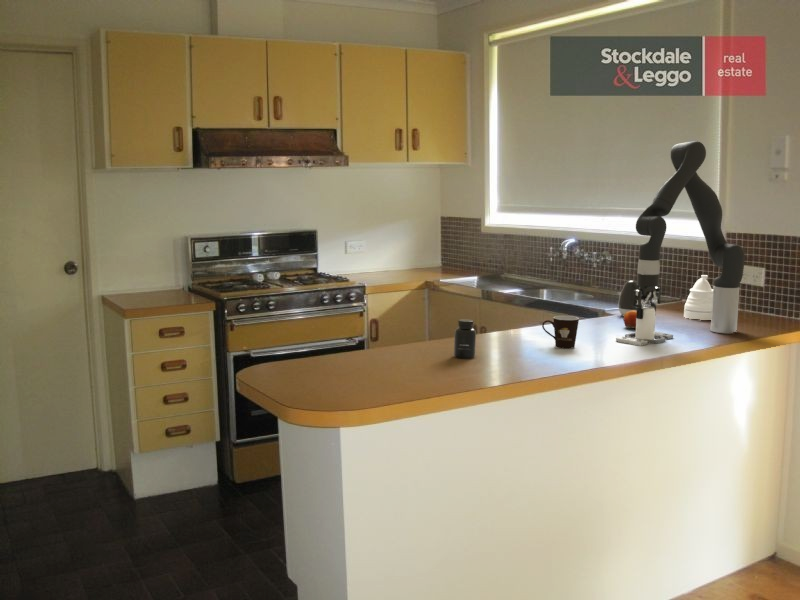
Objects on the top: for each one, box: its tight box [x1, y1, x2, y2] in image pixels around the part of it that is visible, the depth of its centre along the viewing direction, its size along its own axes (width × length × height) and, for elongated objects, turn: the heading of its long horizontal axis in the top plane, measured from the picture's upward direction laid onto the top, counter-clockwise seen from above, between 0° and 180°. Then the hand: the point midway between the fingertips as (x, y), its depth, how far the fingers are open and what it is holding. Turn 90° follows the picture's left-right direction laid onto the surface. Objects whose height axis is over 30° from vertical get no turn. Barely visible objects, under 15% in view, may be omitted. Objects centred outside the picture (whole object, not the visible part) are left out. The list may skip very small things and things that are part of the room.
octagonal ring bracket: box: [615, 331, 674, 347], centre depth 302 cm, size 22×13×1 cm, turn 133°
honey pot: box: [683, 274, 713, 321], centre depth 348 cm, size 13×13×18 cm
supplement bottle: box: [453, 318, 477, 360], centre depth 271 cm, size 7×7×12 cm
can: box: [634, 305, 657, 340], centre depth 301 cm, size 6×6×12 cm
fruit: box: [623, 311, 637, 329], centre depth 324 cm, size 8×8×8 cm
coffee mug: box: [541, 315, 580, 350], centre depth 289 cm, size 12×9×10 cm
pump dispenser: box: [617, 279, 642, 317], centre depth 350 cm, size 10×10×15 cm
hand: (646, 317), depth 301 cm, fingers open, 8 cm apart
